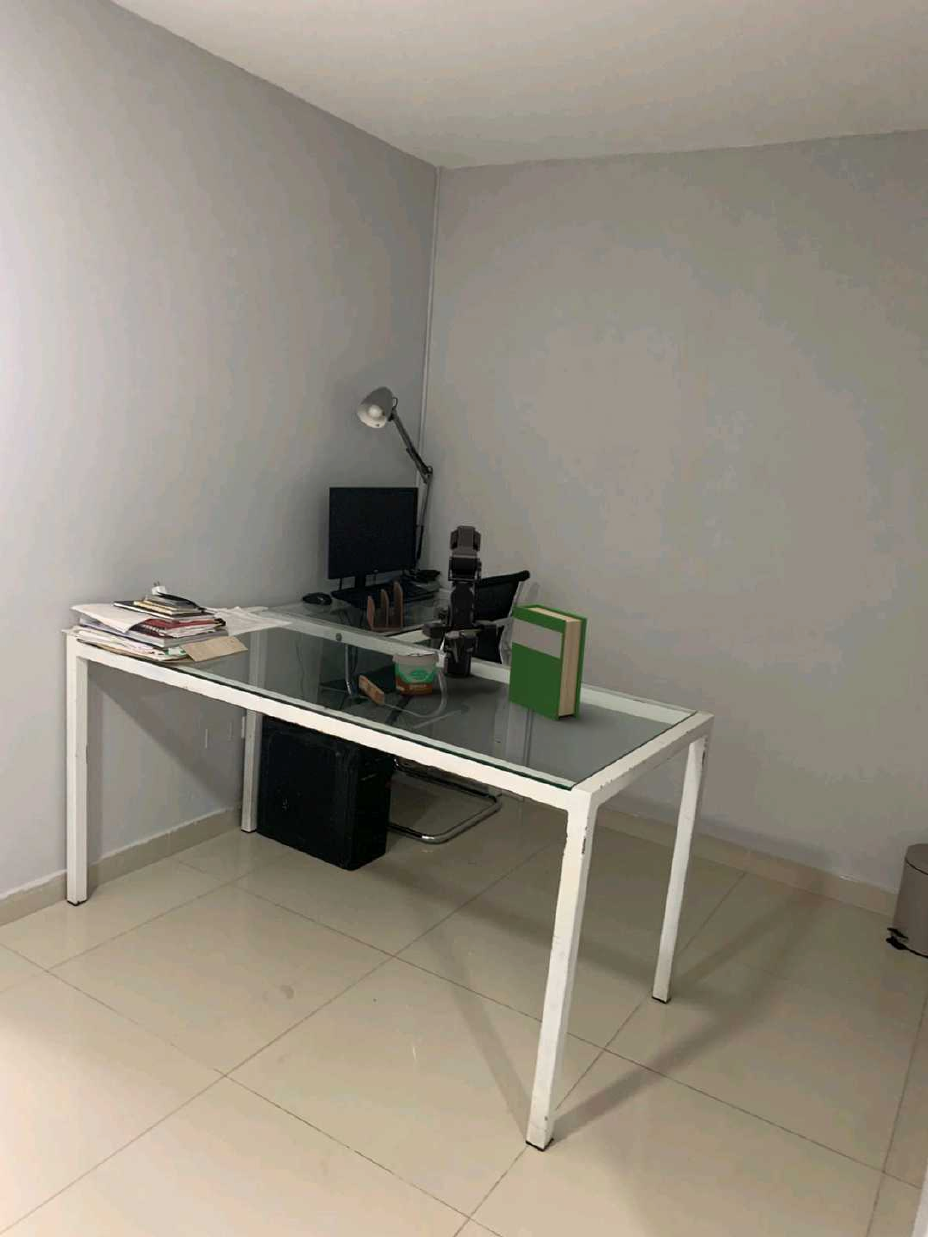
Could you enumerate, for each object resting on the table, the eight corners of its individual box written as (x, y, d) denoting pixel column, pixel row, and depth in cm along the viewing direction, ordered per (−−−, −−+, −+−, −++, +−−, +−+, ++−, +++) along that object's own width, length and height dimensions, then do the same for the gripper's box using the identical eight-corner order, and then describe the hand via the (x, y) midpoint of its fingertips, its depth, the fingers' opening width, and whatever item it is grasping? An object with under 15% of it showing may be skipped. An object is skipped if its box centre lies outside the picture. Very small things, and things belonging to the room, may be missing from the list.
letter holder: (395, 618, 318) (397, 578, 315) (402, 632, 299) (404, 589, 296) (366, 618, 316) (367, 577, 313) (371, 631, 297) (373, 588, 294)
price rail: (362, 687, 235) (363, 675, 235) (384, 705, 221) (384, 693, 220) (358, 687, 235) (358, 675, 234) (379, 706, 220) (379, 693, 220)
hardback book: (578, 716, 222) (587, 618, 217) (555, 720, 218) (563, 620, 213) (531, 696, 236) (538, 603, 231) (508, 700, 231) (514, 605, 226)
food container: (400, 698, 228) (402, 659, 225) (391, 691, 233) (392, 652, 231) (445, 694, 233) (448, 655, 231) (435, 687, 239) (437, 649, 236)
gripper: (481, 594, 244) (477, 652, 247) (415, 596, 236) (412, 656, 239) (500, 603, 234) (496, 663, 237) (432, 605, 226) (429, 667, 229)
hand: (458, 662), depth 236 cm, fingers closed
